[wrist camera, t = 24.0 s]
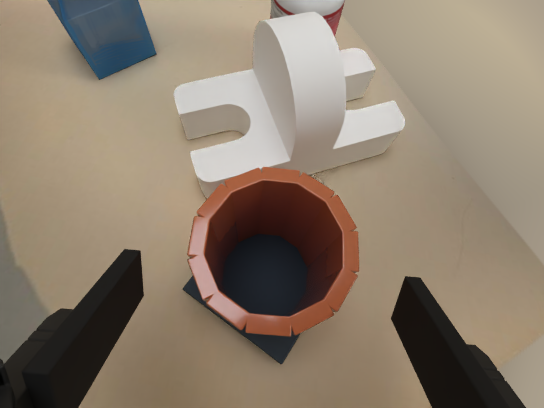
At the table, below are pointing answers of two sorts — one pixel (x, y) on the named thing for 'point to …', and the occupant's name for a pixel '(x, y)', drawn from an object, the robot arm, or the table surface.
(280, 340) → the mat
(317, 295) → the orange hollow cylinder
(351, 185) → the table surface
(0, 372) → the robot arm
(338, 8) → the pill bottle
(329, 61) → the white slotted bracket
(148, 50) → the perfume bottle
